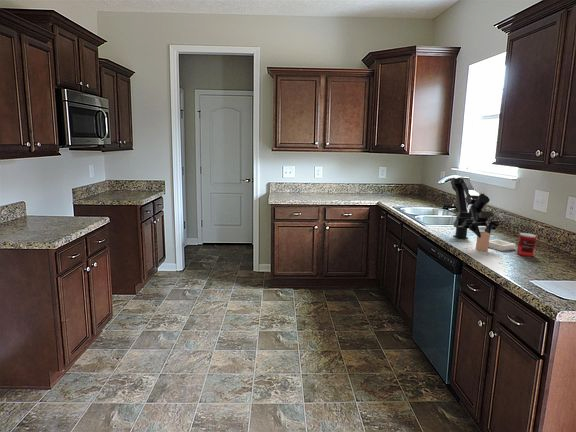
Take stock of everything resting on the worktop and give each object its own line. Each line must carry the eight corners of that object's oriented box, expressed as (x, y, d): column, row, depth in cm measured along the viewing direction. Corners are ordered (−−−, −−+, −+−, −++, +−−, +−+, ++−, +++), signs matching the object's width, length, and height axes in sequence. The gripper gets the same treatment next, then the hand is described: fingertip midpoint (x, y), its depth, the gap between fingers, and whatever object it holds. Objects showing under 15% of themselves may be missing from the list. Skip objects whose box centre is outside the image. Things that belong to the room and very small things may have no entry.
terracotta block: (475, 248, 230) (477, 231, 228) (483, 248, 230) (486, 231, 229) (479, 250, 226) (481, 233, 224) (487, 250, 226) (490, 233, 224)
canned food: (524, 252, 227) (527, 232, 225) (536, 256, 219) (540, 236, 217) (513, 253, 224) (516, 233, 222) (525, 257, 217) (528, 236, 215)
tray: (484, 246, 236) (485, 241, 235) (496, 244, 242) (497, 239, 241) (503, 251, 227) (504, 245, 226) (514, 249, 232) (515, 244, 232)
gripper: (467, 204, 227) (473, 228, 218) (501, 206, 228) (508, 230, 219) (459, 216, 236) (465, 239, 228) (491, 217, 237) (499, 241, 228)
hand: (484, 237), depth 225 cm, fingers closed on terracotta block, 4 cm apart
